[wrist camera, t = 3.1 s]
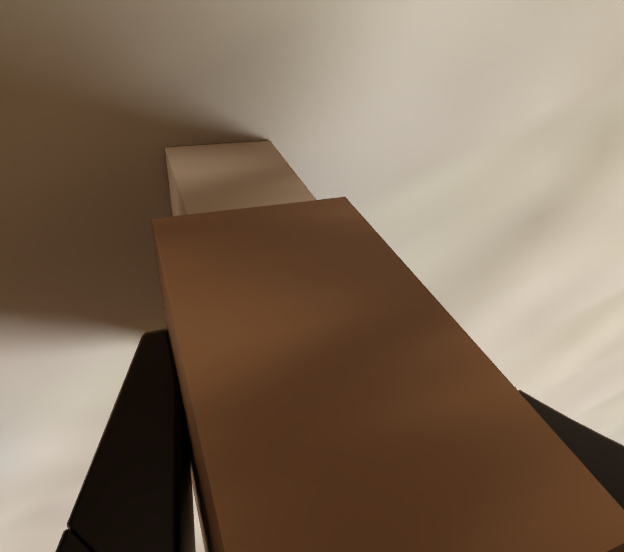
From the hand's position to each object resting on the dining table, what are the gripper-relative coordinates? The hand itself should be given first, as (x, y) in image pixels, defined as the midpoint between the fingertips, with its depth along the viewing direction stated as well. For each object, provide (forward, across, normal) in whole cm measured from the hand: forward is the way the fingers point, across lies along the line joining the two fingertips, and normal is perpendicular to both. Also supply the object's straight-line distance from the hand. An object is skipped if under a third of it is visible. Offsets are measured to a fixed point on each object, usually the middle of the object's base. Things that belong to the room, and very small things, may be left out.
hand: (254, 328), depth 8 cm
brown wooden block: (+2, 0, 0) cm, 2 cm away
